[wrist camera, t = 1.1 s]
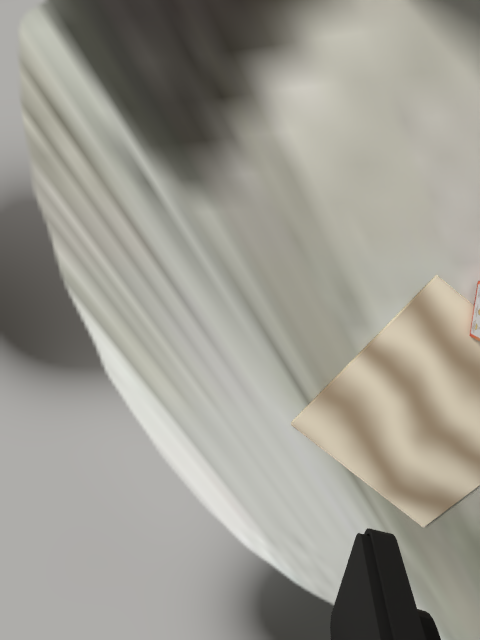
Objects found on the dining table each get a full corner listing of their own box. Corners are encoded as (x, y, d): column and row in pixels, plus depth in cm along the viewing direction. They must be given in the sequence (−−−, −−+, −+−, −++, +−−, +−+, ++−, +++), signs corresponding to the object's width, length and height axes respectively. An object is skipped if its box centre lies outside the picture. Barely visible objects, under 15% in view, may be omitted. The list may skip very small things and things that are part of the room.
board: (436, 275, 36) (438, 276, 35) (585, 398, 37) (590, 401, 36) (291, 422, 42) (291, 424, 42) (421, 523, 43) (423, 527, 43)
